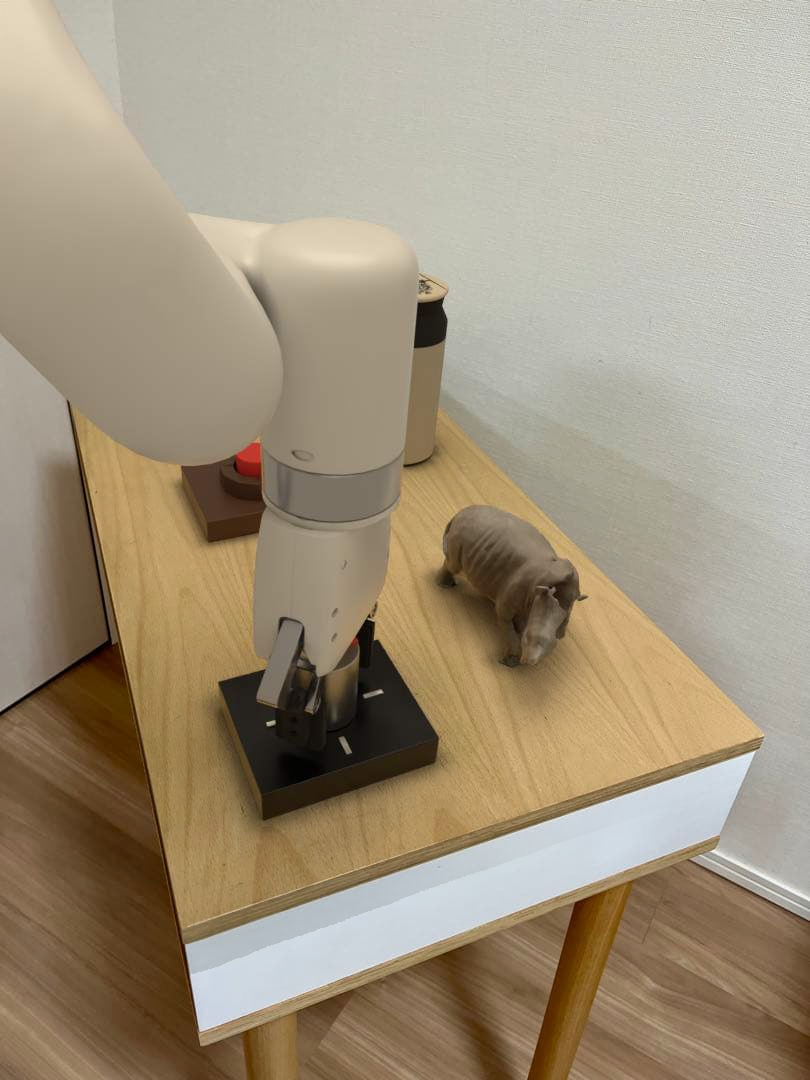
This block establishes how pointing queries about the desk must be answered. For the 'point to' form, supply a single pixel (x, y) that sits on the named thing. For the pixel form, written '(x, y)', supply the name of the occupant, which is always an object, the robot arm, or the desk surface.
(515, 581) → the rhinoceros figurine
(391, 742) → the dial panel
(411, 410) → the travel mug
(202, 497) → the button housing
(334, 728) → the dial
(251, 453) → the power button
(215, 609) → the desk surface
